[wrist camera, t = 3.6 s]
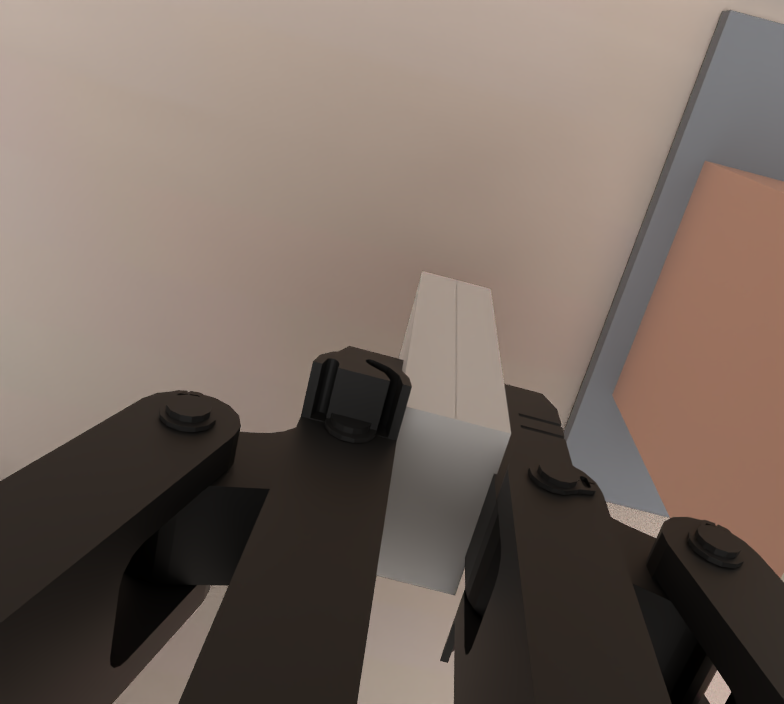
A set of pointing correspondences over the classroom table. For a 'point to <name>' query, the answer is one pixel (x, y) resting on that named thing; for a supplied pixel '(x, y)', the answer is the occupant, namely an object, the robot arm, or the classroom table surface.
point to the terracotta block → (717, 363)
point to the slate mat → (675, 186)
